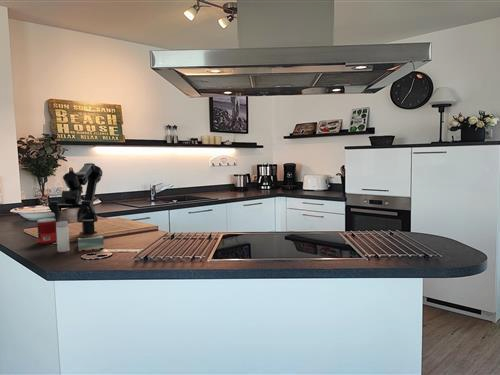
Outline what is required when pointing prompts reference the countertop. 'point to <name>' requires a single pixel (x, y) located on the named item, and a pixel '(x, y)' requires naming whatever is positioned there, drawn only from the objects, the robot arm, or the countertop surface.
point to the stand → (90, 243)
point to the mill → (62, 236)
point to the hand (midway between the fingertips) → (67, 221)
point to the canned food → (47, 230)
